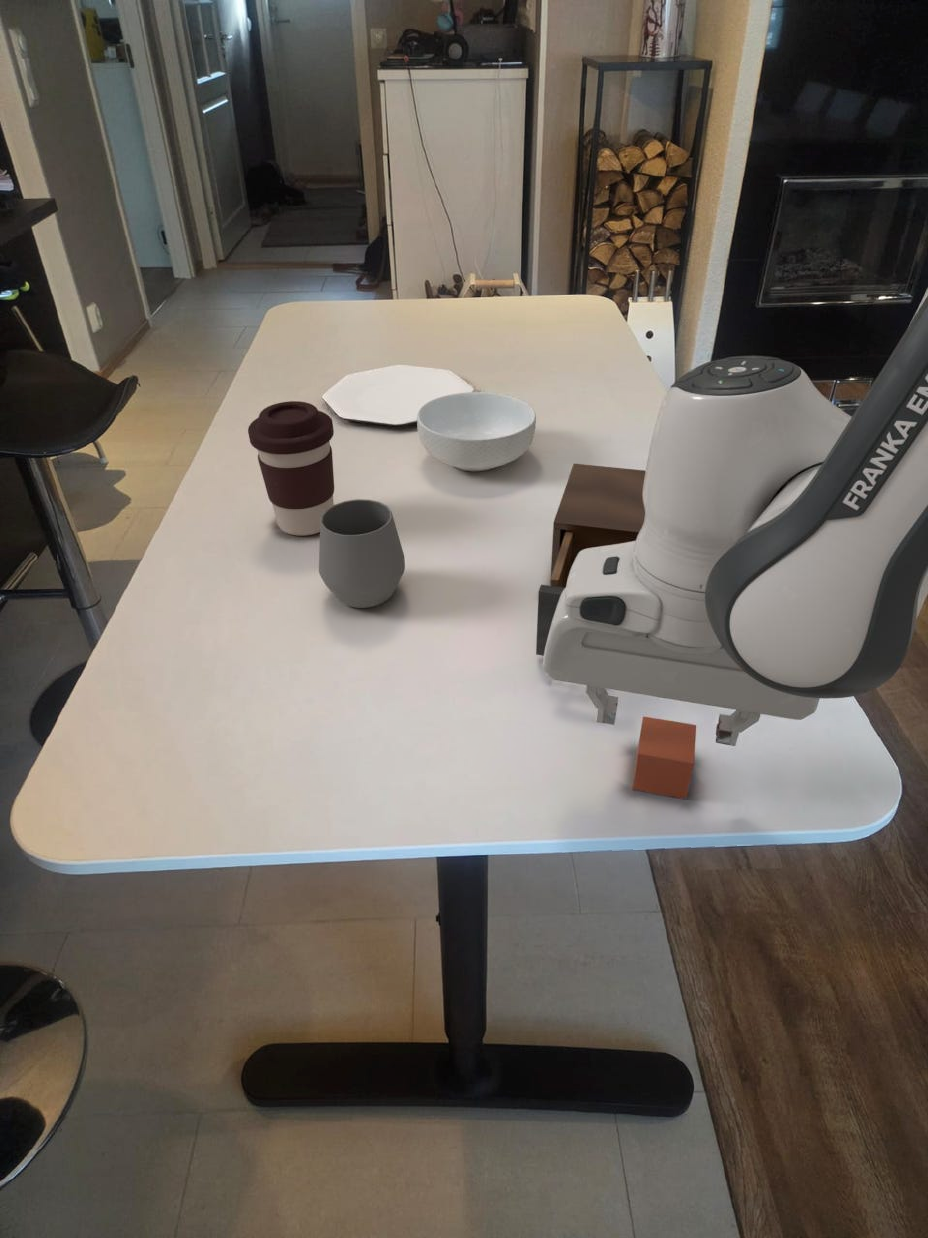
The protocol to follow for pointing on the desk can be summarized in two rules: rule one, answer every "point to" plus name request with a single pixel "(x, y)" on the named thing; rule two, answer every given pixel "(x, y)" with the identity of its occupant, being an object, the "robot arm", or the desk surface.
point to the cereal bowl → (476, 429)
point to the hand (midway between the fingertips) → (664, 728)
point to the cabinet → (600, 504)
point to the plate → (391, 393)
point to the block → (665, 757)
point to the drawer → (565, 577)
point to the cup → (360, 552)
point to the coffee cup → (295, 463)
